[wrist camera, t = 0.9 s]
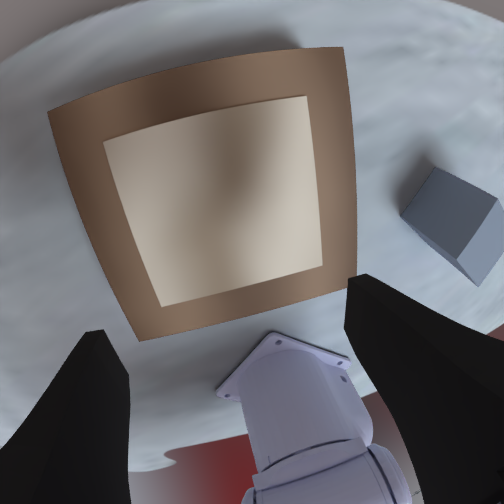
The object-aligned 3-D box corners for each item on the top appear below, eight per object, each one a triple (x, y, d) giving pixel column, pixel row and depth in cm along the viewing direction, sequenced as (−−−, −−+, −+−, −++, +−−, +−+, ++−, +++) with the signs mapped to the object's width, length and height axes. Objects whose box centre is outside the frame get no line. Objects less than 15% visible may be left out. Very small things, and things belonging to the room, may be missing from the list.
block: (460, 200, 21) (514, 235, 16) (428, 245, 22) (478, 287, 17) (435, 166, 19) (498, 198, 14) (399, 216, 20) (456, 259, 15)
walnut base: (307, 53, 14) (344, 46, 10) (327, 249, 20) (357, 286, 17) (77, 105, 13) (45, 112, 9) (143, 296, 19) (139, 343, 15)
